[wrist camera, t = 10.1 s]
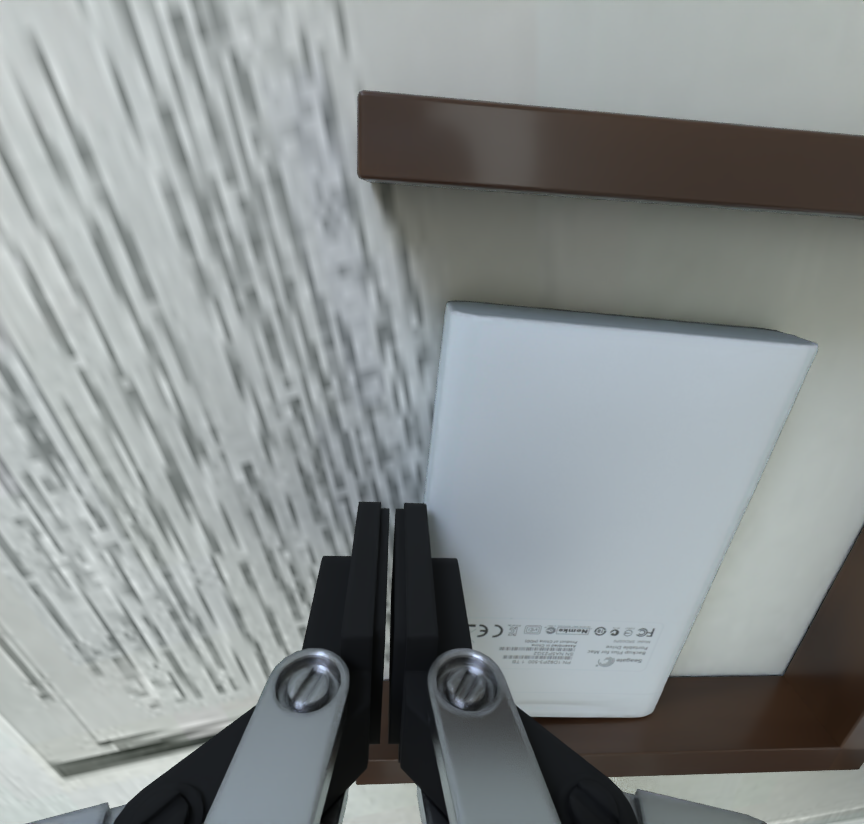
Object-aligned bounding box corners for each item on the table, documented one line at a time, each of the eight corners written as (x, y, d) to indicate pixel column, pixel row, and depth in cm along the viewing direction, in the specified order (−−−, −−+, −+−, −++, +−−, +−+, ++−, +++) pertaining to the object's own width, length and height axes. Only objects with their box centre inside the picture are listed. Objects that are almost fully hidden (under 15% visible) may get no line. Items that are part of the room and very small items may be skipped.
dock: (367, 113, 9) (356, 88, 7) (1100, 177, 11) (1289, 173, 8) (361, 704, 16) (355, 785, 14) (800, 696, 18) (859, 770, 16)
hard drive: (776, 327, 12) (635, 676, 17) (444, 296, 11) (401, 672, 16) (829, 347, 10) (658, 722, 15) (451, 312, 9) (401, 721, 14)
